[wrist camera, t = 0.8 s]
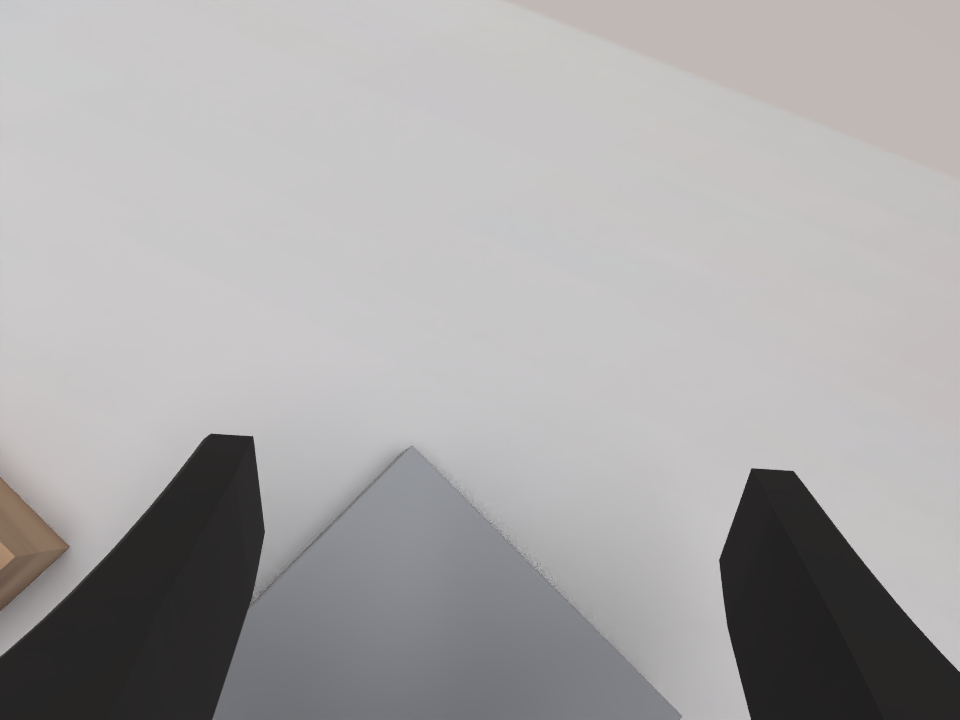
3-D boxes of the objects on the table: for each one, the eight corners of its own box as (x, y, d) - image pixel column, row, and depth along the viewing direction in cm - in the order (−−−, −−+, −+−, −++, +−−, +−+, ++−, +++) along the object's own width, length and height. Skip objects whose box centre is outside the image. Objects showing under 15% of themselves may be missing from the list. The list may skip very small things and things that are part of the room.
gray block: (401, 976, 27) (412, 1044, 24) (139, 716, 27) (113, 745, 24) (640, 691, 30) (682, 716, 26) (402, 452, 30) (412, 445, 26)
